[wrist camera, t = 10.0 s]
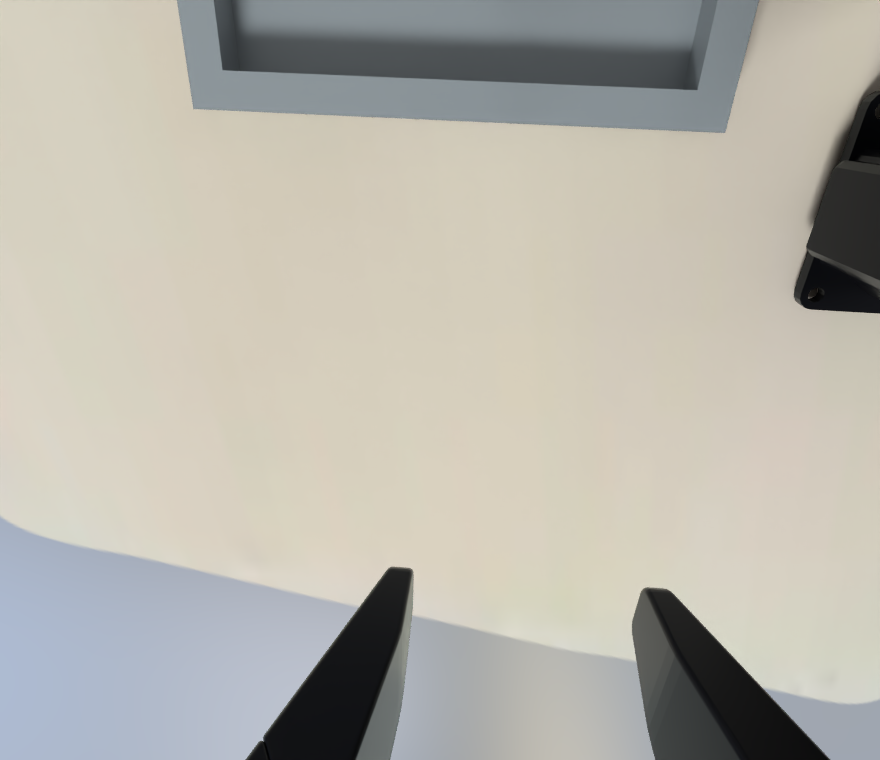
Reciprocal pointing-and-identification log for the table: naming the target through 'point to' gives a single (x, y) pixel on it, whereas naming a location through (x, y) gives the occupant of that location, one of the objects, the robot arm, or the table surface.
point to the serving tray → (473, 59)
